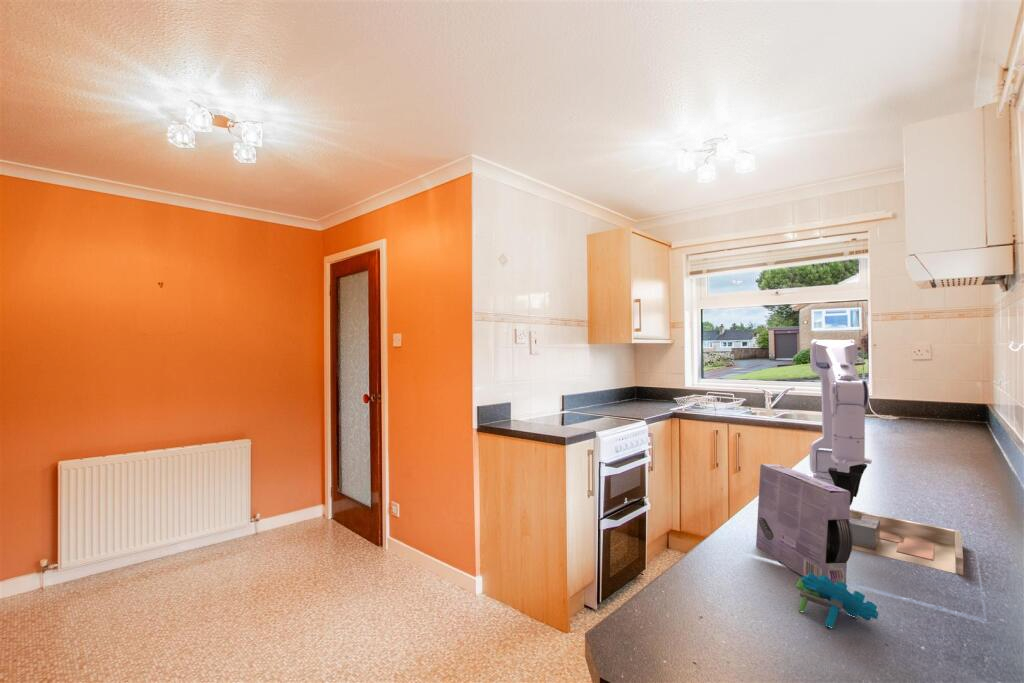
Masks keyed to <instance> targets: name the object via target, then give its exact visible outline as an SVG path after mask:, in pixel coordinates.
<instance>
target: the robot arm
mask: <svg viewBox="0 0 1024 683" xmlns="http://www.w3.org/2000/svg"><path fill="white" fill-rule="evenodd" d="M858 354H859V353H858V343H857V341H855V339H844V340H841V339H812V340H811V341H810V345H809V358H810V360H809V363H810V368H811V372H813V373H815V374H816V375H818V376H819V380H820V383H821V384H820V387H821V427H822V428H821V429H822V432H821V433H822V434H821V435H822V436H820V437H819V438H818V439H816V440H814V441H812V443H811V444H810V446H809V447H810V450H809V468H810V471H811V472H812V473H809V472H808V473H807V474H806V475H808V476H811V477H813V478H816V479H818V480H821V481H823V482H826V483H829V484H831V485H834V486H837V487H839V488H842V489H845V490H848V491H850V506H852V504H853V501H854V498H857V496H858V493H859V490H860V489H859V488H860V484H861V479H862V476H863V474H864V472H865V471H866V470H867V468H868V465H870V464H872V463H873V462H872V459H871V458H866V457H865V455H866V453H865V452H866V451H865V450H866V449H865V447H866V445H865V444H866V442H865V441H866V440H865V439H866V436H865V434H866V432H865V430H866V426H865V425H866V422H865V421H866V419H865V418H866V409H867V408H868V406H869V405H868V404H869V400H870V392H869V385H868V382H867V380H865V379H861V378H860V375H859V373H858V370H857V368H856V363H857V362H858V356H859V355H858ZM825 449H826V450H825ZM850 510H854V509H853V508H850Z"/></svg>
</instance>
